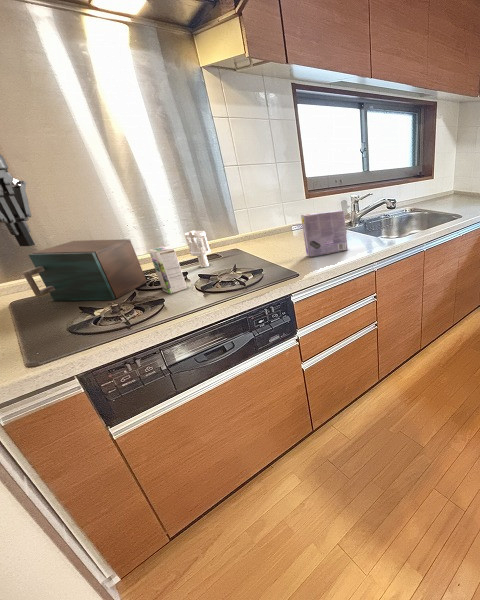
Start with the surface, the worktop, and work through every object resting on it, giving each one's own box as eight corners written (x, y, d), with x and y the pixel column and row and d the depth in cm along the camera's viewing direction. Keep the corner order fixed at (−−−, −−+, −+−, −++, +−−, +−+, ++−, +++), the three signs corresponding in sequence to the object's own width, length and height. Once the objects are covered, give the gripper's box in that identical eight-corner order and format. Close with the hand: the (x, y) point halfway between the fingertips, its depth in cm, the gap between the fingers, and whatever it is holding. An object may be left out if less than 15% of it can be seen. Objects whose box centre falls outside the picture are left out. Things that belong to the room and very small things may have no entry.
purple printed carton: (346, 247, 151) (341, 208, 144) (350, 249, 147) (346, 210, 140) (306, 255, 142) (299, 214, 134) (309, 258, 138) (303, 216, 130)
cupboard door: (99, 307, 100) (75, 258, 93) (37, 308, 101) (9, 260, 94) (115, 298, 106) (94, 252, 99) (56, 299, 106) (31, 253, 99)
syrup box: (162, 290, 111) (146, 249, 104) (180, 284, 115) (166, 245, 109) (169, 294, 108) (154, 252, 101) (188, 288, 112) (174, 247, 106)
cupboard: (116, 298, 106) (95, 251, 99) (57, 299, 106) (31, 253, 99) (147, 282, 118) (130, 239, 111) (94, 283, 119) (73, 240, 112)
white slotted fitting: (192, 269, 129) (179, 232, 123) (199, 264, 135) (187, 228, 129) (210, 268, 130) (199, 231, 124) (216, 262, 136) (206, 227, 130)
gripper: (-39, 154, 75) (15, 252, 85) (21, 152, 87) (62, 239, 97) (-71, 154, 75) (-13, 252, 85) (-6, 153, 87) (38, 239, 97)
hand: (27, 245), depth 91 cm, fingers closed
